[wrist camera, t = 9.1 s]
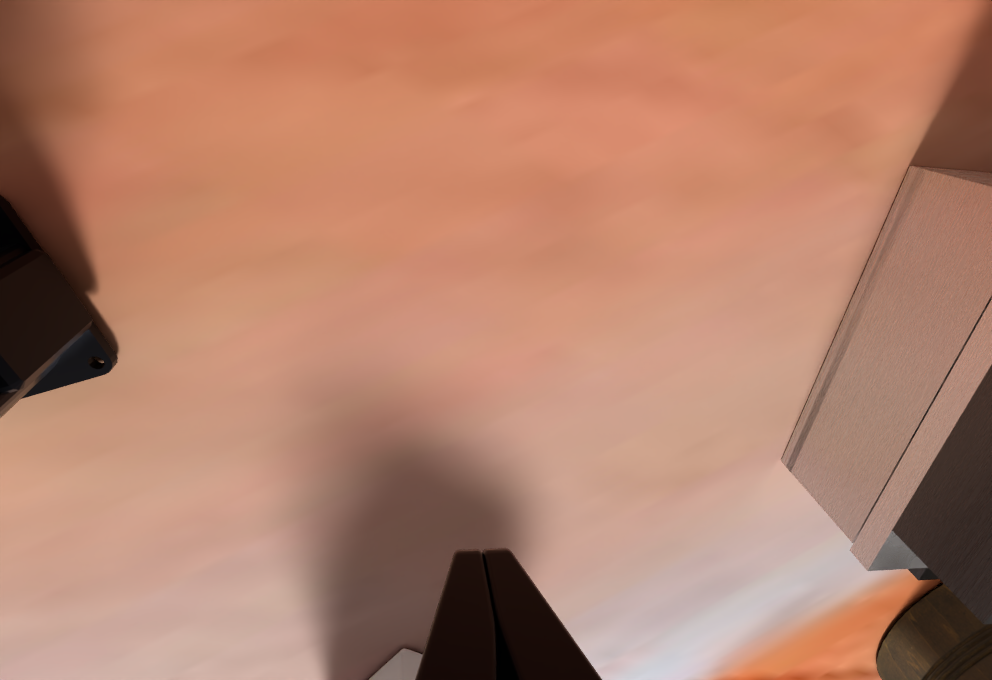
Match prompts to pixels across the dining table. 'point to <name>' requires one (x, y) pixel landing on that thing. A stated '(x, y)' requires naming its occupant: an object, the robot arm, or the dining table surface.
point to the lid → (944, 487)
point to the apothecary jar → (937, 642)
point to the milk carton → (400, 667)
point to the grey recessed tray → (896, 343)
